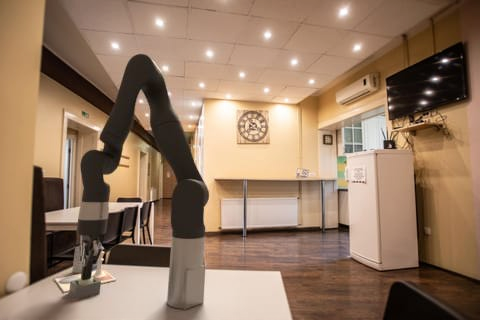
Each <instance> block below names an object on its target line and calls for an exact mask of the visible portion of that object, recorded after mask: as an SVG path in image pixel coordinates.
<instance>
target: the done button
mask: <svg viewBox="0 0 480 320" xmlns="http://www.w3.org/2000/svg"><path fill="white" fill-rule="evenodd" d="M88 283H93V277H91V278H90V279H88V280H82V279H81V278H80V279H79V280H78V285H84V284H88Z"/></svg>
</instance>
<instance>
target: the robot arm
mask: <svg viewBox="0 0 480 320" xmlns="http://www.w3.org/2000/svg"><path fill="white" fill-rule="evenodd" d="M123 72H124V73H123V75H122V79H121V83H120V86H119V89H118V92H117V95H116V98H115V101H114V104H113V107H112V109H111V112H110V114H109V117H107V118H108V119H107V120H106V122H105V125H103V128H102V130H101V132H100V134H99V140H100V142H102V143H103V147H102V150H99V149H89V150H88V151H85V153H84V154H83V155H82V157H81V160H80V162H79V163H80V176H81V183H82V186H83V188H82V189H83V190H82V196H81V202H80V203H81V204H80V207H79V210H78V216H77V217H78V219H77V224H76V225H77V226H76V231H75V232H76V235H78V236H82V240H81V241H80V242H79V244H78V247H79V250H80V262H81V264H82V265H83V266H82V273H80V274H81V279H82V280H88V279H90V278H91V274H92V271H93V269H92V266H93V265H94V264H96V263H97V260H98V258H99V256H100V253H101V251H103V249H101V248H98V247H99V246H100V244H101V241H100V236H101V235H104V234H106V232H107V227H108V222H109V221H108V220H109V213H110V212H109V209H110V206H109V205H110V204H109V203H110V197H111V196H110V194H111V184H110V183H108V182H105V179H104V175H105V176H107V175H108V176H109V175H111V174H113V173H114V172H116V170H117V169H118V168H119V166H120V163H121V159H122V154H123V150H124V144H125V142H126V140H127V139H128V136H129V134H130V132H131V130H132V128H133V125H134V121H135V112H136V104H137V99H138V98H139V97H138V96H139V94H140V92H141V91H142V93H143V95H144V97H145V99H146V102H147V104H148V107H149V125H150V130H151V132H152V135H153V138H154V141H155V143H156V146H157V148H158V150H159V151H160V154H161V155H162V156H163V158H164V160H165V161H166V162H167V164H168V165H169V167H170V168H171V170H172V172H173V174H174V177H175V181H176V183H177V184H176V185H175V186H174V189H173V191H172V195H171V207H170V227H171V230H172V232H171V244H170V245H171V246H170V257H169V258H170V259H169V269H168V270H169V271H168V285H167V298H166V300H167V301H166V303H167V304H168V306H170V307H171V308H175V309H181V310H184V311H186V310H188V309H191V308H193V307H196V306H198V305H201V304H203V303H204V300H205V299H204V298H205V283H206V282H205V281H206V265H204V260H205V259H204V257H205V243H206V242H205V241H206V225H205V221H204V219H205V218H204V217H205V216H204V215H205V207H206V205H207V204H208V202H209V199H210V191H209V189H208V186H207V184H206V182H205V181H204V179H203V177H202V175H201V172H200V171H199V169H198V167H197V165H196V162H195V160H194V159H195V158H194V156H193V153H192V149H191V147H190V144H189V142H188V138H187V135H186V132H185V129H184V126H183V125H182V122H181V120H180V117H179V115H178V113H177V111H176V109H175V107H174V104H173V103H172V100H171V98H170V95H169V91H168V88H167V84H166V80H165V79H166V78H165V76H164V74H163V72H162V70H161V69H160V67H159V66H158V65H157V63H156V62H155V60H153V59H152V58H151V56H149V55H147V54H145V53H137V54H135V55H132V57H131V58H130V59H129V60H128V61H127V63H126V66H125V69H124V71H123Z"/></svg>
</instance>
